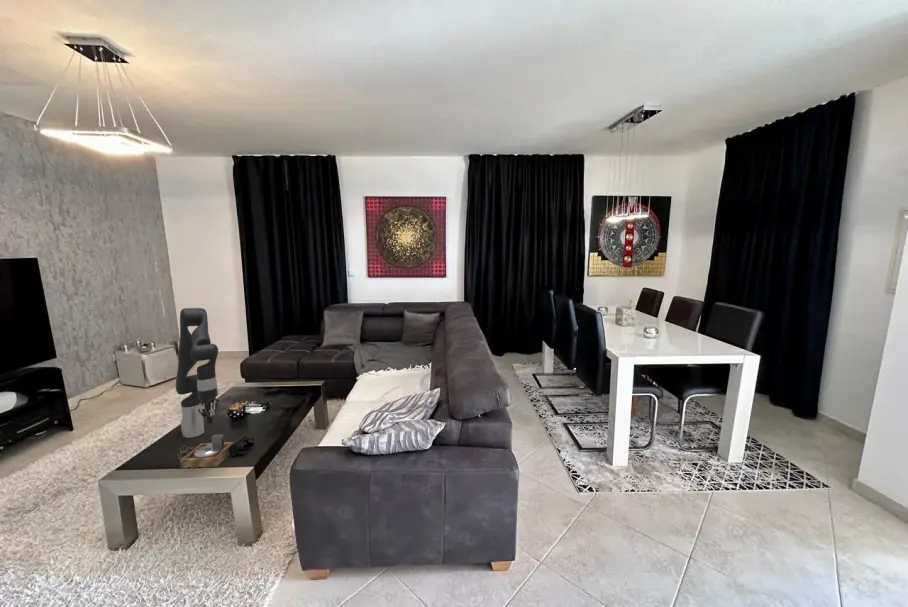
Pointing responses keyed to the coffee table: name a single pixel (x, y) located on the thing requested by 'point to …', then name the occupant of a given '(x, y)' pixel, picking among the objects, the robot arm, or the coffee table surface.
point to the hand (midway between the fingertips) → (210, 423)
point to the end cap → (241, 446)
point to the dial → (211, 448)
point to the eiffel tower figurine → (183, 449)
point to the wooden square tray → (205, 462)
